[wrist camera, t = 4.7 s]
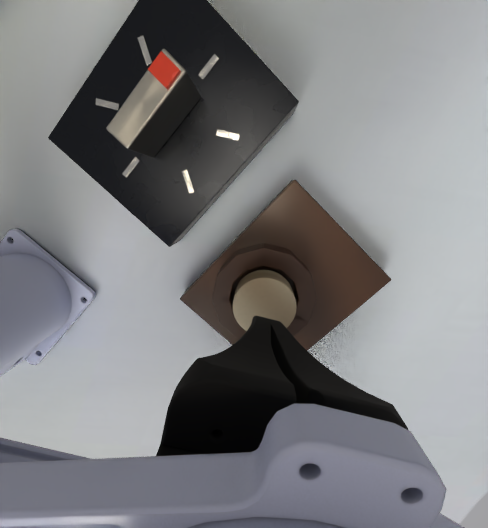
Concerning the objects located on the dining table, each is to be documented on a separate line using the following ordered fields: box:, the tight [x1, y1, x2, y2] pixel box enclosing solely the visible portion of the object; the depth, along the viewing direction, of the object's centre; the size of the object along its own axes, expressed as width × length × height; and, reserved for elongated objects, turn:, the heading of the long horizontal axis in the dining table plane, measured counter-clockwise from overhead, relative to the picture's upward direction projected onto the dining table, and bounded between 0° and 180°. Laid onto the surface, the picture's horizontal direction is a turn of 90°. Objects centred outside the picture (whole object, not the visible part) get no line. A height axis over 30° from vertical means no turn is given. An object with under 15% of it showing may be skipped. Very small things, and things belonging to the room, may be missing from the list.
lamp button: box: [233, 270, 297, 331], centre depth 17 cm, size 4×4×2 cm
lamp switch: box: [180, 180, 391, 350], centre depth 19 cm, size 12×10×3 cm
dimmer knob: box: [106, 48, 201, 157], centre depth 14 cm, size 5×1×4 cm, turn 137°
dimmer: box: [48, 0, 299, 247], centre depth 17 cm, size 12×10×3 cm
